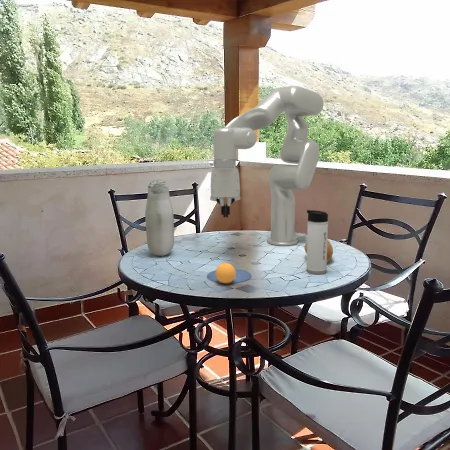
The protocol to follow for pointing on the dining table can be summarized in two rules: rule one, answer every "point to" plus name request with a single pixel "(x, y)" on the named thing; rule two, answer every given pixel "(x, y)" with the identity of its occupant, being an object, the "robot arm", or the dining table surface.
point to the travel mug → (317, 242)
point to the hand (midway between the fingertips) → (225, 216)
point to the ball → (225, 273)
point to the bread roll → (329, 250)
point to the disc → (239, 277)
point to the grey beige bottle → (159, 219)
